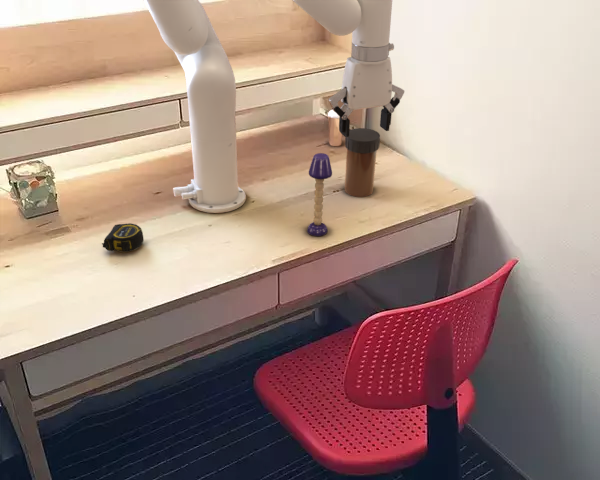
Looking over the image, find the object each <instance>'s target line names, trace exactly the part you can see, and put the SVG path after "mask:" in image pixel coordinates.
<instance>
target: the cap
mask: <svg viewBox="0 0 600 480" xmlns="http://www.w3.org/2000/svg"><path fill="white" fill-rule="evenodd" d="M344 137H345V136H344ZM380 144H381V134H380V132H378V131H377V130H375V129H372V128H365V127H358V128H357V127H356V128H351V129H349V136H348V137H345V138H344V147H345V148H346V150H347V149H348V150H350V151H352V152H356V153H372V152H375V151H377V152H378V150H379V148H380Z"/></svg>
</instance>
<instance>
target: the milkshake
mask: <svg viewBox="0 0 600 480" xmlns="http://www.w3.org/2000/svg"><path fill="white" fill-rule="evenodd" d="M327 122H328V123H327V125H328V129H327V130H328V144H329V146H332V147H340V146H341V145H342V143H343V137H344V135H342V134H341V132H340V131H339V115H338V114H337V113H336V112H334V111H333V109H332V108H331V109H330V110H329V111H327Z"/></svg>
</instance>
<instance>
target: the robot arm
mask: <svg viewBox="0 0 600 480" xmlns="http://www.w3.org/2000/svg"><path fill="white" fill-rule="evenodd" d="M143 2H144V4H145V7H146V8H147V10H148V12H149V14H150V16H151V18H152V20H153V21H154V23H155V25H156V27H157V29H158V32H159V34H160V37H161V38H162V40H163V42H164V43H165V45H166V46H167V47H168V48H169V49H170V50H172V51H173V53H174V55H175V56H176V59H177V60H178V62H179V64H180V66H181V67H182V69H183V72H184V74H185V75H184V76H185V77H184V78H185V85H186V95H187V106H188V108H187V109H188V121H189V134H190V144H191V145H190V146H191V156H192V166H193V167H192V168H193V178H192V179H191V178H190V183H189V184H188V183H187V185H186V186H176V187H173V188H172V193H173V195H174V197H181V199H182V200H188V204H189V205H190V206H191V207H193V208H194V209H195V210H198V211H199V212H200V211H201V212H204V213H210V214H214V213H215V214H221V213H228V212H232V211H234V210H237V209H238V208H241V206H243V205H244V204H245V202H246V200H247V199H246V197H247V196H246V192H245V191H244V190H243V189H242V188H241V187H239V172H238V171H239V169H238V168H239V167H238V146H237V145H238V144H237V143H238V142H237V141H238V140H237V121H236V120H237V118H236V106H237V105H236V104H237V103H236V102H237V85H236V78H235V77H236V76H235V74H234V71H233V67H232V64H231V62H230V60H229V58H228V54H227V53H226V51H225V49H224V47H223V45H222V43H221V41H220V39H219V36H218V35H217V33H216V30H215V29H214V26H213V24H212V22H211V21H210V18H209V17H208V14H207V12H206V10H205V8H204V6H203V4H202V2H200V0H143ZM292 2H294V4H296V5H297V6H298V7H299V8H300V9H301V10H303V11H304V12H305V13H306V14H308V15H309V16H310V18H312V19H313V20H314V21H315V22H317V23H318V24H319V25H321V26H322V27H323V28H324V29H325V30H326V31H327V32H329V33H330V34H332V35H334V36H340V37H342V36H343V37H344V36H348V35H350V34H351V52H350V56H349V57H347V58H346V62H345V64H344V69H343V76H342V82H341V89H340V90H339V91H337V92H336V93H334V94H333V95H331V96H330V97H329V98H328V103H329V106H330V107H331V110H332V109H333V111H334V112H336V113H337V114H338V115H339V131H340V132H341V134H342V135H343V137H348V136H349V130H350V127H351V126H350V125H351V124H350V123H351V120H350V118H349V117H350V116H351V114H352V112H353V111H357V110H359V111H360V110H366V109H372V108H378V107H383V108H381V110H380V119H379V127H380V128H382V130H384V131H385V132H388V131H390V126H391V124H392V115H393V113H394V112H395V109H396V108H397V107H398V105H399V104H400V102H401V99H402V98H403V96H404V94H405V90H404V89H403V88H401V87H399V86H397V85H395V84H393V71H392V62H391V57H390V56H389V55H390V52H391V51H394V49H395V45H394V43H390V37H391V36H390V35H391V25H392V23H391V22H392V10H393V0H292ZM392 92H393V93H394V96H392V95H393V93H392ZM339 102H341V103H342V105H341V107H340V106H339Z"/></svg>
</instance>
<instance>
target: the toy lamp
mask: <svg viewBox="0 0 600 480" xmlns="http://www.w3.org/2000/svg"><path fill="white" fill-rule="evenodd" d="M330 160H331V159H330V157H329V155H328V154H327V153H323V152H322V153H321V152H318V153H315V154H313V157H312V160H311V163H310V166H309V169H308V175H309V177H310V178H312V179H314V180H315V183H314V188H315V190H314V199H313V201H314V202H313V203H314V205H313V209H314V211H313V217H314V218H313V222H311V223H309V224H308V226H307V229H306V232H307V234H308V235H311V236H314V237H321V236H325V235H326V234H327V233H328V227H327V225H326V224H325V223H324V222H323V210H324V205H323V204H324V203H323V202H324V187H325V184H324V181H325V180H327V179H330V178H331V177H332V176H333V170H332V165H331V161H330Z"/></svg>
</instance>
